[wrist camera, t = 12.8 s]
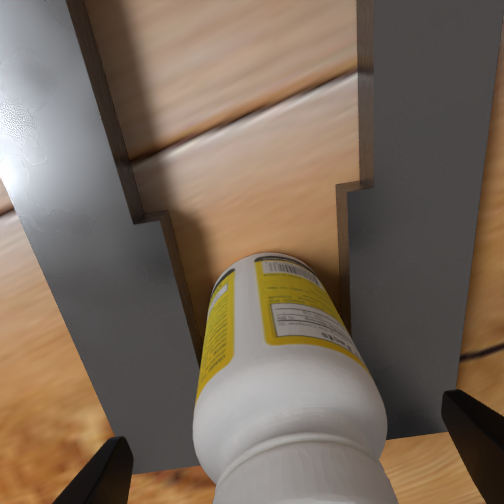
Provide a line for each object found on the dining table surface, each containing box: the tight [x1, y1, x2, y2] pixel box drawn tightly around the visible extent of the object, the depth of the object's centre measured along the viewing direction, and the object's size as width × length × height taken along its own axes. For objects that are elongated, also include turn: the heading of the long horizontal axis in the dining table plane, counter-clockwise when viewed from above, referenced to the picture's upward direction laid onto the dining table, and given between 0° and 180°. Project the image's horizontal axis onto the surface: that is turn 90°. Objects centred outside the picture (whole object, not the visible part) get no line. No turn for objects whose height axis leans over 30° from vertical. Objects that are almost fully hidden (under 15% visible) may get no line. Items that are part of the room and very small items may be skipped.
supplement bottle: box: [193, 252, 399, 504], centre depth 11 cm, size 5×5×10 cm
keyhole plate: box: [0, 0, 504, 474], centre depth 13 cm, size 17×24×2 cm
